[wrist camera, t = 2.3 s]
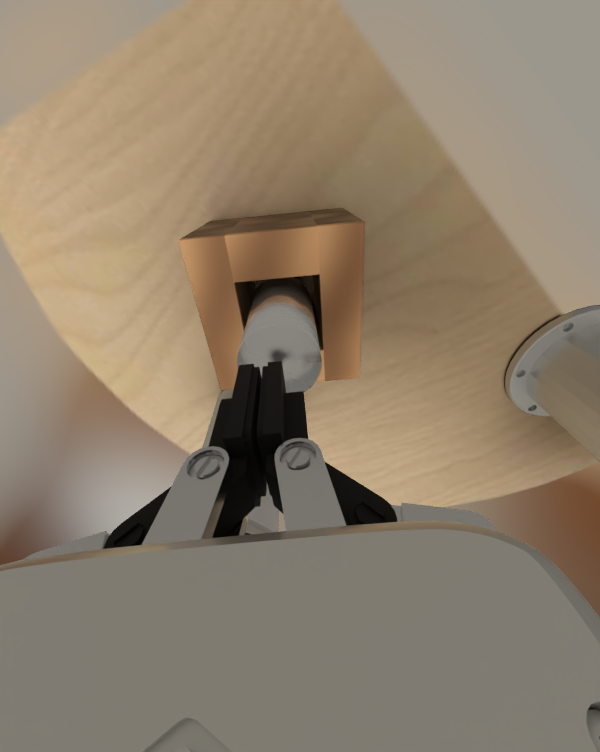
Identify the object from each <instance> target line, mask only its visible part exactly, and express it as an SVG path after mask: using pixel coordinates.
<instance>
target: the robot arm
mask: <svg viewBox="0 0 600 752" xmlns="http://www.w3.org/2000/svg"><path fill="white" fill-rule="evenodd" d="M505 389H506V392H507V395H508V397H509V398H510V400H511V401H512V402H513V403H514V404H515V405H516V406H517V407H518V408H519V409H520V410H522V411H524V412H526V413H528V414H532V415H536V416H551V417H552V418H553V419H554V420H555V421H556V422H557V423H559V424H560V425H561V426H562V427H563V428H564V429H565V430H566V431H567V432H568V433H569V434H570V435H572V436H573V437H574V438H575V439H576V440H577V441H578V442H579V443H580V444H581V445H582V446H583V447H585V448H586V449H587V450H588V451H589V452H590V453H591V454H592V455H593V456H594V457H595V458H596V459H598V460H599V461H600V305H595V306H589V307H585V308H581V309H577V310H574V311H572V312H569V313H567V314H564V315H562V316H560V317H559V318H557V319H555V320H553V321H551V322H549V323H548V324H547V325H545V326H544V327H542V328H541V329H540V330H538V331H537V332H536V333H534V334H533V335H532V336H531V337H530V338H529V339H528V340H527V341H526V342H525V343H524V344H523V345H522V347H521V348H520V349H519V350H518V351H517V353H516V354H515V356H514V358H513V359H512V361H511V362H510V365H509V367H508V370H507V373H506V378H505ZM267 484H268V489H269V493H270V496H272V500H273V504H274V506H275V507H276V508H277V509H278V510H279V511H281V512H282V513H283V514H284V520H285V526H286V531H284V532H272V533H261V534H251V535H245V532H246V528H247V524H248V514H249V513H250V512H251V511H252V510H253V509H254V508H255V507H260V505H261V497H263V496H266V491H267ZM0 752H600V618H599V616H598V615H597V614H596V612H595V611H594V610H593V608H592V607H591V606H590V605H589V603H588V602H587V601H586V600H585V598H584V597H583V596H582V595H581V593H580V592H579V591H578V590H577V589H576V587H575V586H574V585H573V584H572V583H571V582H570V580H569V579H568V578H567V577H566V576H565V575H564V574H563V573H562V572H561V571H560V570H559V569H558V567H556V565H555V564H553V562H551V561H550V560H549V559H548V558H547V557H545V556H544V555H543V554H542V553H541V552H539V551H538V550H537V549H534V548H533V547H532V546H530V545H528V544H527V543H525V542H523V541H521V540H518V539H516V538H513V537H511V536H509V535H506V534H504V533H501V532H498V531H497V529H496V527H495V526H494V525H493V524H492V523H491V522H490V521H489V520H488V519H487V518H485V517H483V516H482V515H480V514H478V513H474V512H471V511H466V510H458V509H449V508H441V507H433V506H424V505H416V504H408V503H402V504H401V506H395V505H390V504H389V503H388V502H387V501H386V500H385V499H383V498H382V497H380V496H379V495H377V494H375V493H374V492H372V491H371V490H369V489H367V488H366V487H364V486H363V485H361V484H359V483H358V482H356V481H355V480H353V479H351V478H350V477H348V476H347V475H345V474H343V473H342V472H340V471H339V470H337V469H335V468H334V467H332V466H331V465H329V464H327V463H326V462H324V459H323V456H322V453H321V450H320V448H319V447H318V445H317V444H316V443H315V442H313V441H311V440H309V439H308V433H307V423H306V413H305V402H304V392H303V391H299V392H289V393H286V387H285V380H284V373H283V366H282V361H275V362H268V366H263V369H262V378H261V373H260V368H259V367H254V364H245V365H239V367H238V372H237V376H236V381H235V385H234V390H233V394H232V398H228V399H222V400H221V402H220V405H219V409H218V413H217V416H216V420H215V424H214V428H213V431H212V435H211V439H210V442H209V446H208V447H205V448H202V449H199V450H197V451H196V452H194V453H192V454H191V455H190V456H189V457H188V458H187V459H186V461H185V462H184V464H183V465H182V467H181V469H180V471H179V473H178V475H177V477H176V479H175V481H174V483H173V485H172V487H170V488H169V489H167V490H166V491H165V492H163V493H162V494H161V495H159V496H158V497H157V498H155V499H154V500H153V501H151V502H150V503H149V504H147V505H146V506H144V507H143V508H142V509H140V510H139V511H138V512H136V513H135V514H134V515H132V516H131V517H130V518H128V519H127V520H126V521H124V522H123V523H121V525H119V526H118V527H117V528H116V529H115V530H114V531H113V532H112V533H111V534H108V533H107V532H106V531H105V532H102V533H98V534H95V535H92V536H88V537H85V538H82V539H79V540H75V541H72V542H69V543H66V544H62V545H59V546H56V547H53V548H49V549H46V550H42V551H39V552H37V553H34V554H32V555H30V556H28V557H26V558H25V559H24V560H21V561H17V562H13V563H8V564H4V565H0Z"/></svg>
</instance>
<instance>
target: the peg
mask: <svg viewBox="0 0 600 752" xmlns="http://www.w3.org/2000/svg"><path fill="white" fill-rule="evenodd" d="M275 361H282V366H283V373H284V380H285V387H286V393H289V392H299V391H303V392H305V391H306V390H308V389H309V388H310V387H311V386H312V385H313V384H314V383H315V382H316V380H317V379H318V377H319V375H320V372H321V367H322V358H321V352H320V347H319V341H318V335H317V330H316V324H315V319H314V313H313V307H312V302H311V297H310V294H309V291H308V290H307V288H306V287H305V285H304V284H303V283H302V282H300V281H299V280H297V279H296V278H293V277H287V278H277V279H266V280H265V281H264V282H262V283H261V284H260V286H259V287H258V288H257V290H256V292H255V295H254V299H253V302H252V306H251V309H250V313H249V316H248V320H247V324H246V327H245V331H244V334H243V338H242V341H241V345H240V348H239V352H238V356H237V367H239V365H245V364H254V367H259V368H260V373H261V378H262V369H263V366H268V362H275Z"/></svg>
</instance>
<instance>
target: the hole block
mask: <svg viewBox="0 0 600 752" xmlns="http://www.w3.org/2000/svg"><path fill="white" fill-rule="evenodd" d="M364 227H365V222H364V221H362V220H361V219H359V218H358V217H356V216H354V215H353V214H351V213H350V212H348V211H346V210H345V209H343V208H337V209H327V210H317V211H307V212H297V213H287V214H277V215H267V216H257V217H247V218H237V219H227V220H217V221H210V222H208V223H206V224H205V225H203V226H201V227H200V228H198V229H196V230H195V231H193V232H191V233H190V234H188V235H186V236H185V237H183V238H181V239H180V240H178V242H179V245H180V249H181V252H182V256H183V259H184V263H185V266H186V270H187V273H188V277H189V280H190V284H191V287H192V291H193V294H194V298H195V301H196V305H197V308H198V312H199V315H200V319H201V322H202V326H203V329H204V332H205V336H206V339H207V343H208V346H209V350H210V353H211V357H212V360H213V364H214V367H215V371H216V374H217V378H218V381H219V385H220V388H221V390H227V389H234V385H235V381H236V376H237V372H238V367H237V356H238V352H239V348H240V345H241V341H242V338H243V334H244V331H245V327H246V324H247V320H248V316H249V313H250V309H251V306H252V302H253V299H254V295H255V292H256V291H255V285H254V281H256V280H266V279H277V278H287V277H298V276H308V275H313V283H314V300H315V307H313V313H314V319H315V324H316V330H317V335H318V341H319V347H320V352H321V358H322V367H321V372H320V375H319V377H318V379H317V380H316V382H318V381H329V380H340V379H352V378H360V362H361V329H362V295H363V261H364Z"/></svg>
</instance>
